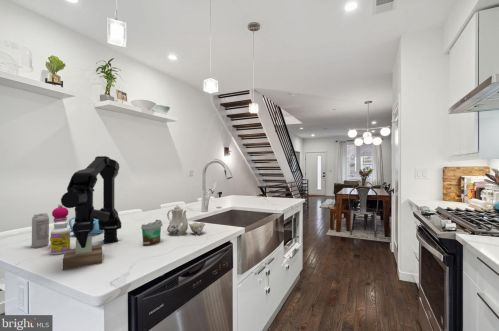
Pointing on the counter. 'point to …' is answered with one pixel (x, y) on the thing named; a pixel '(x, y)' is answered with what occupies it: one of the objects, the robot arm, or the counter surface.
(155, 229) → the food container
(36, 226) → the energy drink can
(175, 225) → the chinaware
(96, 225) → the teapot
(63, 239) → the supplement bottle
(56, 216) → the pepper mill
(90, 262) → the walnut block
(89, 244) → the sage cube
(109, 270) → the counter surface
